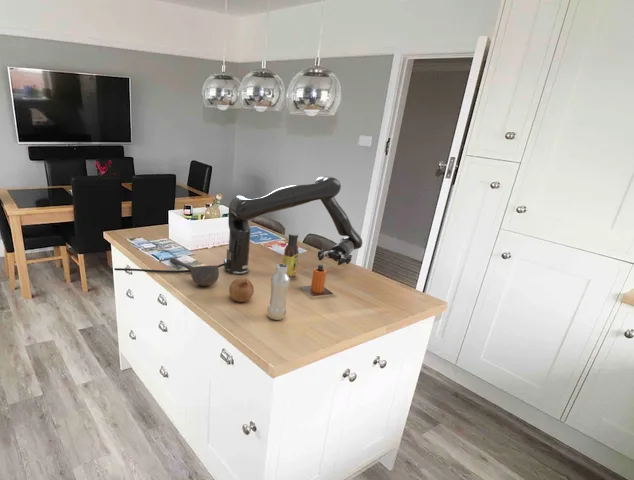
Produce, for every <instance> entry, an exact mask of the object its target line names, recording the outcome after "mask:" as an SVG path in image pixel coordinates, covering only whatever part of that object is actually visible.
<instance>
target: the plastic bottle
mask: <svg viewBox="0 0 634 480" xmlns="http://www.w3.org/2000/svg"><path fill="white" fill-rule="evenodd" d="M286 272H287V265H285V264H283V263H277V264H276V268H275V272H274V274H272V276H271V278H270V298H269V304H268V306H267V310H266V314H267V316H268V318H269V319H271V320H275V321H280V320H283V319H284V318H285V317H286V313H287V296H288V290H289V286H290V284H291V278H289V276H288V274H287V273H286Z"/></svg>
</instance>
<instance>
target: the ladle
mask: <svg viewBox="0 0 634 480" xmlns="http://www.w3.org/2000/svg"><path fill="white" fill-rule="evenodd" d="M169 261H170V262H171V263H173V264H174V265H176V266H180V267H182V268H185V269H186V270H190V271H191V272H190V274H191V278H192V281H193V282H194V283H195V284H196V285H198V286H200V287H206V286H211V285H214V284H215V283H217V281H218V279H219V276H220V275H219V274H220V272H219V268H218V265H219V264H218V265H214V264H213V265H198V266H193V265H192V264H191V265H190V264H187V263H185V262H183V261H181V260H180V259H177V258H175V257H170V258H169Z"/></svg>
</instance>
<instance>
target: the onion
mask: <svg viewBox="0 0 634 480" xmlns="http://www.w3.org/2000/svg"><path fill="white" fill-rule="evenodd" d="M228 292H229V296H230V297H231V299H232V300H233V301H235V302H238V303H245V302H248V301H249V300H250V299H252V297H253V295H254V292H255V288H254V285H253V283H252V281H250V280H249V279H248V278H245V277H238V278H235V279H234V280H233V281H232V282H231V283H230V285H229V288H228Z"/></svg>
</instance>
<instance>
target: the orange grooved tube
mask: <svg viewBox="0 0 634 480" xmlns="http://www.w3.org/2000/svg"><path fill="white" fill-rule="evenodd" d="M312 270H313V271H312V278H311V283H310V284H311V285H310V286H311V291H313V292H316V293H321V292H323V290H324V287H325V285H326V278H327V269H326V268H323V271H322V272H319V271H318V267H314V268H313V269H312Z"/></svg>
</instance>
